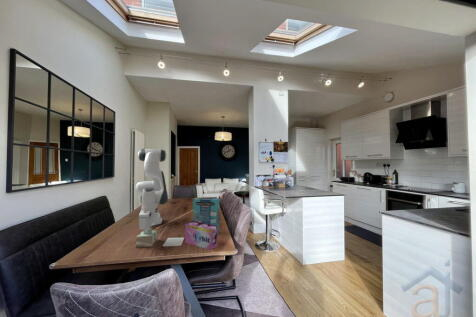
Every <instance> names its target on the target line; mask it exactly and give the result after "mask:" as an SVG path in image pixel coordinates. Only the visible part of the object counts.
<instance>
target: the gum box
mask: <svg viewBox="0 0 476 317" xmlns="http://www.w3.org/2000/svg"><path fill="white" fill-rule="evenodd" d="M184 236H185V238H184V241H185V242H184V243H185V244H189V245H191V246H196V247H198V248H202V249H206V250H209V251H212V250H213V249H214V248H216V247H218V234H217V226H216V225H211V224H206V223H201V222H196V221H193V220H192V221H189V222H186V223H185V235H184Z"/></svg>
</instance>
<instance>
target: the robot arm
mask: <svg viewBox="0 0 476 317" xmlns="http://www.w3.org/2000/svg"><path fill="white" fill-rule="evenodd" d="M137 157H138V159H139V161H141V162H143V163H144V164H143V172H144V173H145V175H144V176H146V177H147V178H148V179H151V180H149V181H148V180H144V181H139V182H137V183H136V184H135V191H136V193H138V194H139V195H140V204H141V208H140V212H139V214H138V218H139V220H138V224H139V225H138V226H139V227H138V228H139V230H140V231H141V230H142V231H144V230H145V233H148V232H149V230H148V229H150V228H152V226H156V225H157V226H158V225H160V224H162V222H163V218H162V217H161V213H160V212H159V206H158V205H165V204H167V203H168V202H169V194H168V190H167V184H166V179H165V178H166V177H165V174H164V171H163V170H161V167H160V163H162V162H164V161H166V159H167V153H166V150H164V149H158V148H141V149H139V151H138V152H137Z"/></svg>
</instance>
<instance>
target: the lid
mask: <svg viewBox="0 0 476 317" xmlns="http://www.w3.org/2000/svg"><path fill="white" fill-rule="evenodd" d="M148 230H149V232H148V233H145V230H142V231H143V232H142V231H141V232H142V233H141V232H140V233H141V234H140V233H139V234H140V235H139V234H138V235H139V236H152V237H153V235H154V234H155V233H156V232H157V231H152V230H153V228H152V227H151V228H150V229H148ZM157 233H158V232H157Z"/></svg>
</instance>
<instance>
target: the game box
mask: <svg viewBox="0 0 476 317" xmlns="http://www.w3.org/2000/svg"><path fill="white" fill-rule="evenodd" d="M192 221H196V222H201V223H206V224H211V225H216V226H217V235H218V234H219V232H220V198H212V197H195V198H192Z"/></svg>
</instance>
